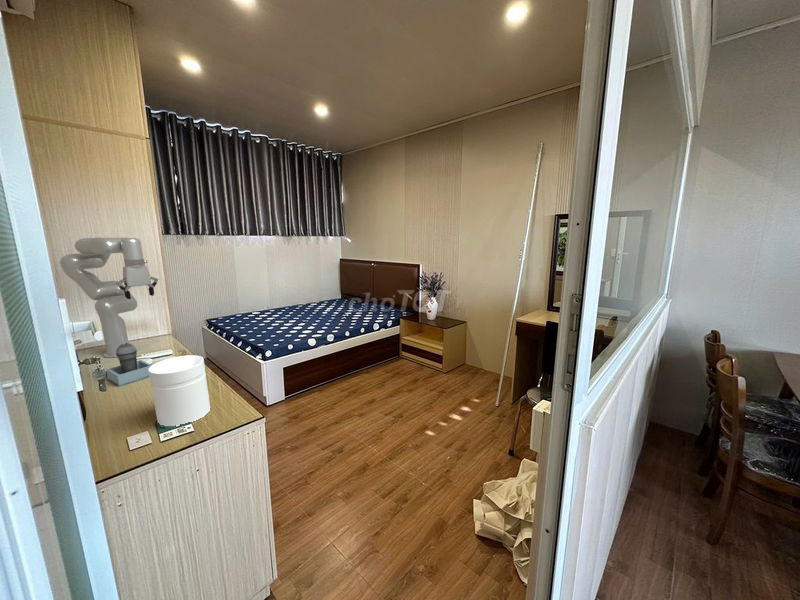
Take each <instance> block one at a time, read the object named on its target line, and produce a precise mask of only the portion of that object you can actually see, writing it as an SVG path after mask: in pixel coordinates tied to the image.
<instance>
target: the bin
mask: <svg viewBox="0 0 800 600" xmlns="http://www.w3.org/2000/svg"><path fill="white" fill-rule="evenodd" d="M152 365H153V364H151V363H149V362H147V361H144V360H142V359H139V360H137V370H133V371H130V372H127V373H123V371H122V368H121V365H117V366H114V367H110V368H106V369H105V371H106V376H107V379H108V381H110V382H111V383H113V384H114V385H116V386H117V387H119V388H120V387H123V386H127V385H130V384H132V383H136V382H139V381H142V380H145V379H148V378H150V377H149V371H148V368H149V367H150V366H152Z"/></svg>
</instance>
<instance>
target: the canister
mask: <svg viewBox="0 0 800 600" xmlns="http://www.w3.org/2000/svg"><path fill="white" fill-rule="evenodd" d="M151 365H152V366H150V367H149V368H148V371H149V377H148V378H149V380H150V381H149V382H150V386H151V387H150V388H151V392H152V397H153V398H152V399H153V403H154V409H155V414H156V415H155V416H156V421H157V424H158V423H159V424H160V425H164V426H175V425H180V424H185V423H188V422H193V421H196V420H198V419H200V418H202V417H204V416H205V415H206V414H207V413H208V412H209V411H210V412H211V410H210V408H211V401H210V395H209V389H208V380H207V373H206V365H205V360H204V357H203V356H200V355H195V354H192V355H191V354H190V355H189V354H188V355H179V356H173V357H169V358H166V359H163V360H160V361H157V362H155V363H154V364H151ZM204 418H205V417H204Z"/></svg>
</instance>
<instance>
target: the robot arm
mask: <svg viewBox="0 0 800 600" xmlns="http://www.w3.org/2000/svg"><path fill="white" fill-rule="evenodd" d="M142 247H143V246H142V242H141V240H140V239H139V238H137V237H84V238H83V237H82V238H80V239H78V240H76V241H75V242H74V249H75V250H76V251H77V252H78V253H70V254H66V255H64V256H61V258H60V260H59V262H60V263H59V264H60V267H61V269H62V271H63V272H64V274H65V275H66V276H67V277H68V278H69V279H71V280H72V281H74V283H76V284H77V286H78V287H80V289H81V290H82V291H83V292H84V293H85V295H86V296H87V297H89V298H90V299H91V300H92V301H96V302H95V303H94V309H95V311H96V313H97V315H98V319H99V321H100V325H101V330H102V334H103V340H104V345H105V349H106V352H104V353H103V357H104V358H106V359H107V358H109V359H110V358H118V357H117V355H116V350H117V348H118V347H119V346H120V345H122V344H123V343H122V340H121V337H120V334H121V335H122V338H123V341H124V344H125V343H129V344H130V342H129V337H128V331H127V327H126V322H125V320H124V319H123V318H122V317H121V315H119V314H122V313H128V312H132V311H134V310H135V309H136V308H137V307H138V302H137V299H136V298H135V296H134V295H133V294H132V293H131V292H130V289H131V288H132V287H133V288H134V287H142V286H148V289H147V290H148V293H149V296H155V290H154V288H155V287H156V286H157V285H158V282H159V279H158V278H156V277H153V276H150V275H151V274H150V272H149V269H148V267H147V265H145V264H148V260H145V258H144V254H143V253H144V252H143V248H142ZM112 254H122V256H123V262H124V266H123V267H122V279H120V280H118V281H117V280H108V281H102V280H101V279H99V277H97V276H96V274H94V273H92V272H90V271H87V270H88V269H89V270H91V269H99V268H103V267H104V266H105V265H106V264H107V262H108V260H109V258H110V257H111V255H112Z"/></svg>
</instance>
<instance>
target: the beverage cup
mask: <svg viewBox="0 0 800 600" xmlns="http://www.w3.org/2000/svg"><path fill="white" fill-rule="evenodd" d="M120 337H121V340H122V343H123V344H122V345H120V346H119V347H118V348H117V350H116V355H117V357H116V358H117V359H118V362H119V364H120V365H119V366H121V368H122V371H123V373H127V372H130V371H133V370H137V361H138V360H137V355H138V350H137V348H136V346H135V345H134V344H132V343H130V342H129V343H125V344H124V341H123V338H122V335H121V334H120Z"/></svg>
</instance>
